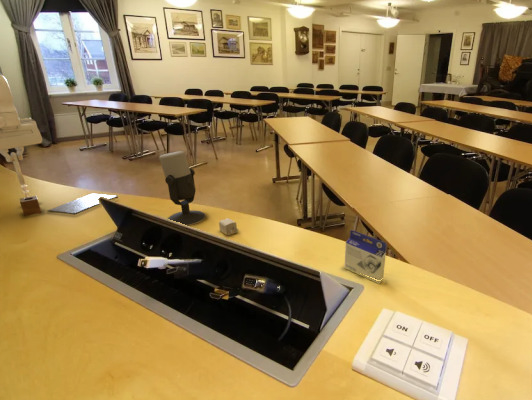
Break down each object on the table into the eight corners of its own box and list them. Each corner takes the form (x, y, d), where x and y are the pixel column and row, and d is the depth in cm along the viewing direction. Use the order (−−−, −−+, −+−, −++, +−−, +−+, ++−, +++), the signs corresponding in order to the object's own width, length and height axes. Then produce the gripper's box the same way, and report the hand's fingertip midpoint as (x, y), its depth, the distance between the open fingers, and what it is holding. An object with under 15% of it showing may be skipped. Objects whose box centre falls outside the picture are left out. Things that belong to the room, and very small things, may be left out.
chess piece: (22, 208, 125) (13, 184, 121) (22, 204, 128) (13, 181, 125) (38, 205, 128) (30, 181, 124) (38, 201, 131) (30, 178, 128)
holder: (24, 213, 121) (19, 198, 118) (41, 210, 124) (36, 195, 121) (25, 217, 117) (19, 202, 115) (42, 214, 120) (37, 199, 118)
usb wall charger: (230, 228, 112) (229, 217, 110) (241, 234, 107) (240, 224, 106) (220, 231, 109) (218, 220, 108) (230, 238, 105) (229, 227, 103)
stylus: (19, 185, 116) (8, 152, 111) (23, 184, 117) (13, 151, 113) (22, 185, 115) (12, 152, 111) (26, 184, 117) (16, 152, 112)
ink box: (343, 268, 89) (345, 231, 85) (348, 265, 91) (350, 228, 87) (379, 285, 82) (383, 246, 78) (384, 281, 84) (388, 242, 80)
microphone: (184, 209, 126) (175, 147, 117) (212, 214, 122) (205, 149, 113) (159, 223, 115) (147, 154, 106) (189, 228, 111) (179, 158, 102)
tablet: (47, 212, 122) (46, 210, 121) (92, 195, 140) (92, 193, 139) (75, 216, 119) (75, 213, 119) (117, 197, 137) (117, 195, 137)
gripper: (27, 117, 118) (37, 153, 123) (-42, 123, 99) (-26, 166, 104) (41, 117, 117) (51, 155, 122) (-27, 124, 98) (-11, 168, 103)
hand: (15, 160), depth 113 cm, fingers closed on stylus, 1 cm apart
